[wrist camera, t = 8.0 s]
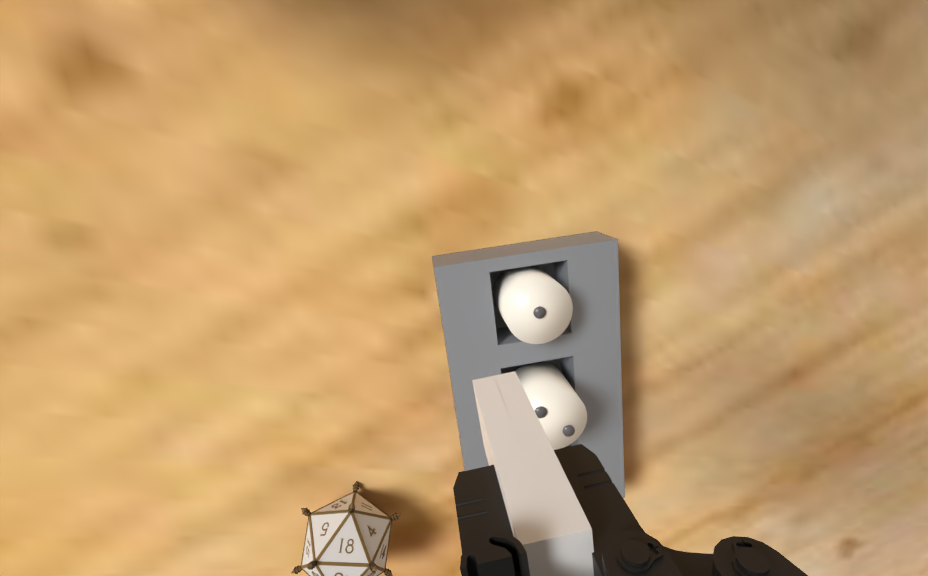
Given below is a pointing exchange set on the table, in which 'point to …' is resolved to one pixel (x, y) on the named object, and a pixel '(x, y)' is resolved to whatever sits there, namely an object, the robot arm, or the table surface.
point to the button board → (573, 352)
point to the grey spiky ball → (346, 538)
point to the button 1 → (532, 304)
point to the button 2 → (553, 402)
